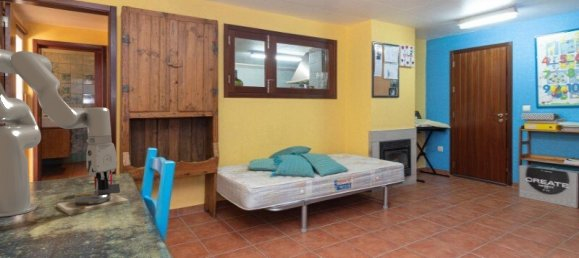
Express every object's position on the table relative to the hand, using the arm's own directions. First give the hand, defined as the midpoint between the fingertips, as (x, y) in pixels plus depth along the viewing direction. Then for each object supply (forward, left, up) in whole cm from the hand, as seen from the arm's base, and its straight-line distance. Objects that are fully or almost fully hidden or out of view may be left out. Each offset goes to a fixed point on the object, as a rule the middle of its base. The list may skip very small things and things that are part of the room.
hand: (103, 189), depth 123 cm
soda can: (+9, +26, -7) cm, 29 cm away
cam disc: (0, +8, -6) cm, 10 cm away
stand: (-1, +8, -7) cm, 11 cm away
